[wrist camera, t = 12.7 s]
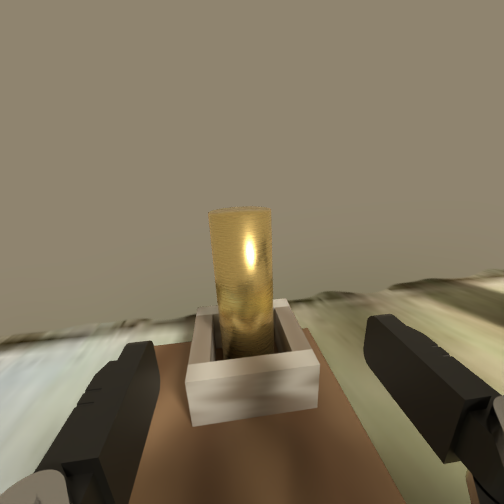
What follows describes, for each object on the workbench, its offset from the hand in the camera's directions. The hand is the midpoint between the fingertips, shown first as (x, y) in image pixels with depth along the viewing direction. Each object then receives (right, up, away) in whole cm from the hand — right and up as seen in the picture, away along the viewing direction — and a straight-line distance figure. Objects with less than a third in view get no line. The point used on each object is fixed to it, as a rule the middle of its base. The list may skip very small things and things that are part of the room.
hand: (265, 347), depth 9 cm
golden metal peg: (-1, -7, +12) cm, 14 cm away
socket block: (-3, -9, +9) cm, 13 cm away
